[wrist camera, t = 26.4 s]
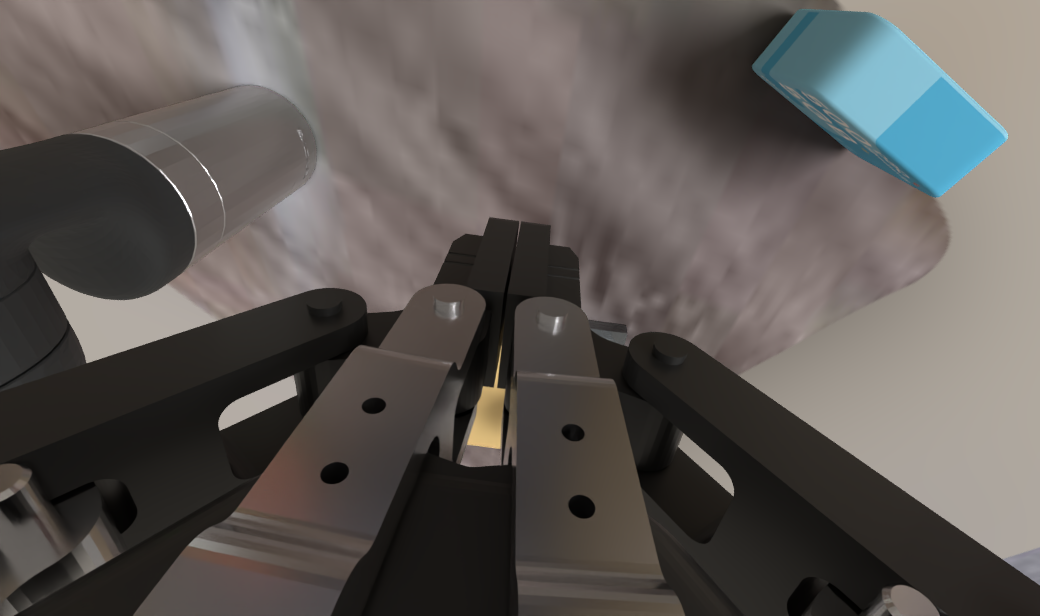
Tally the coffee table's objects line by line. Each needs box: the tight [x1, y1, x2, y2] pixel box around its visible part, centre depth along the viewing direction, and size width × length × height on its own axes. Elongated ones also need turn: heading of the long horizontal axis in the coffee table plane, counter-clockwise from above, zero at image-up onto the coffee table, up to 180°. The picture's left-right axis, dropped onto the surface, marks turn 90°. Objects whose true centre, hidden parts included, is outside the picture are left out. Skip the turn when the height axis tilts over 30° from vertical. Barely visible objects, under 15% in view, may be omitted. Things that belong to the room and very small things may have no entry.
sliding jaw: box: [467, 346, 505, 449], centre depth 53 cm, size 7×14×3 cm, turn 174°
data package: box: [752, 9, 1008, 197], centre depth 33 cm, size 12×4×12 cm, turn 57°
